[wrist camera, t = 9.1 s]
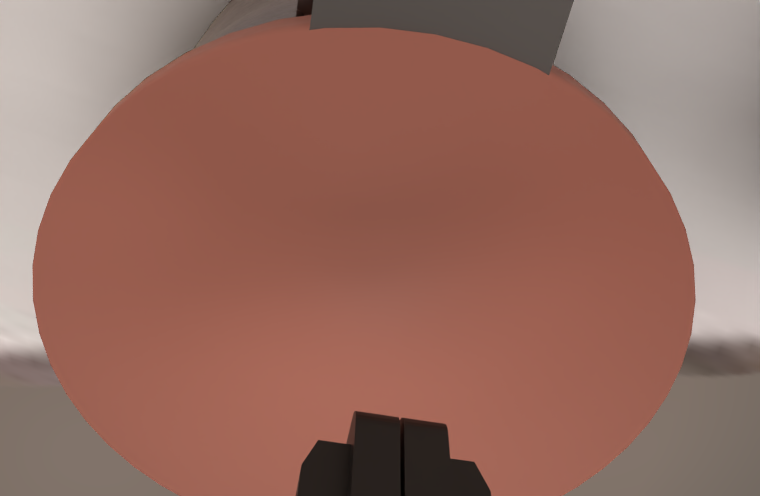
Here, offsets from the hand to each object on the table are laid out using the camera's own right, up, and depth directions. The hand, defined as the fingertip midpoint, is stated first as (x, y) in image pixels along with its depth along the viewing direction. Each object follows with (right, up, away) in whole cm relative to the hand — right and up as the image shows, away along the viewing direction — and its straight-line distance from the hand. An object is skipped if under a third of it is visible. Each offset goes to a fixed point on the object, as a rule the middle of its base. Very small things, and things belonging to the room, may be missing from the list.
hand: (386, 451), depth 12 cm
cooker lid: (0, +2, +8) cm, 8 cm away
